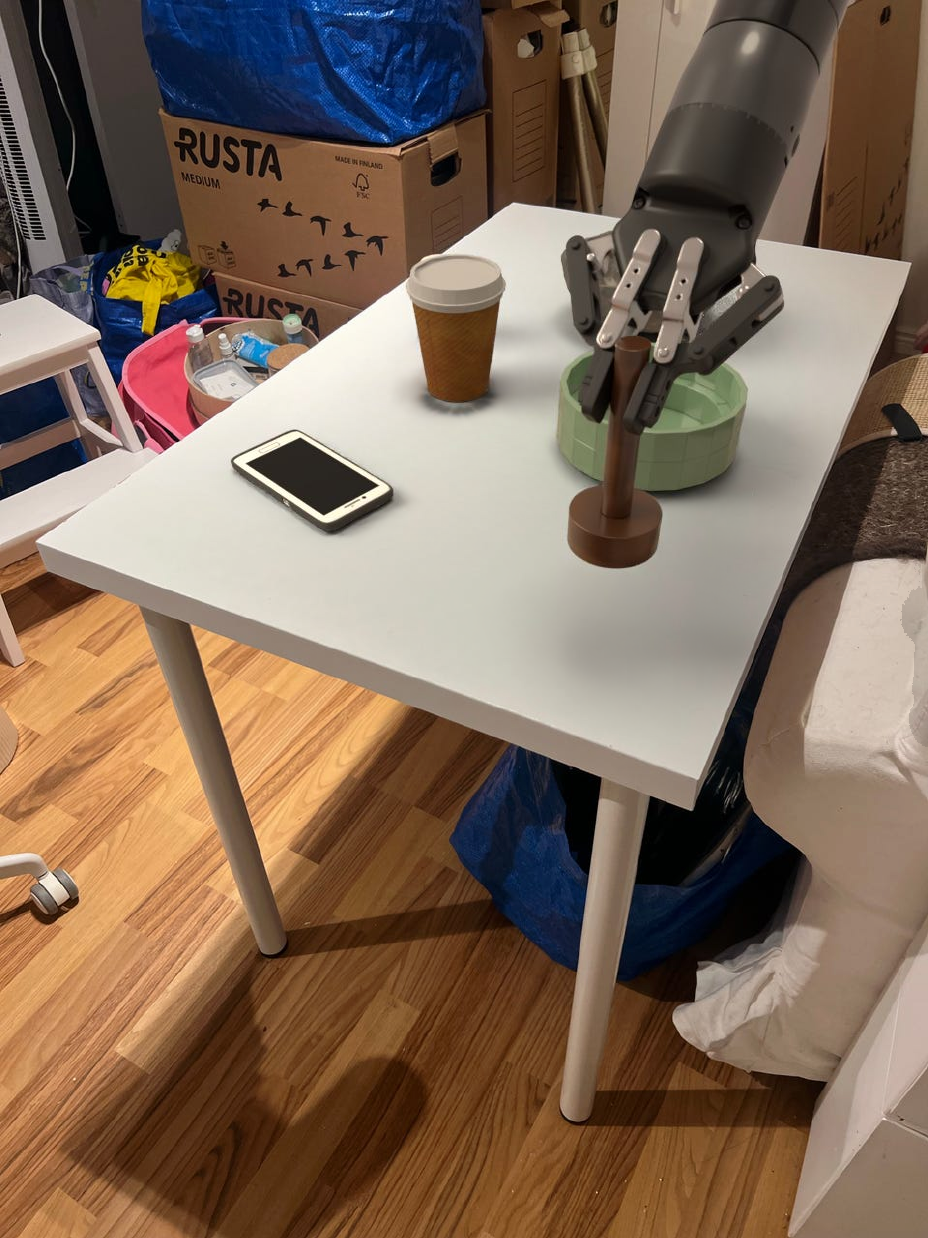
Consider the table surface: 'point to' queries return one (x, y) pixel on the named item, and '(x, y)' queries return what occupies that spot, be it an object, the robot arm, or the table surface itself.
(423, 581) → the table surface
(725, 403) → the mixing bowl
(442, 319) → the disposable coffee cup
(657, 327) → the bowl
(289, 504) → the cell phone
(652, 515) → the wooden rod on disc
